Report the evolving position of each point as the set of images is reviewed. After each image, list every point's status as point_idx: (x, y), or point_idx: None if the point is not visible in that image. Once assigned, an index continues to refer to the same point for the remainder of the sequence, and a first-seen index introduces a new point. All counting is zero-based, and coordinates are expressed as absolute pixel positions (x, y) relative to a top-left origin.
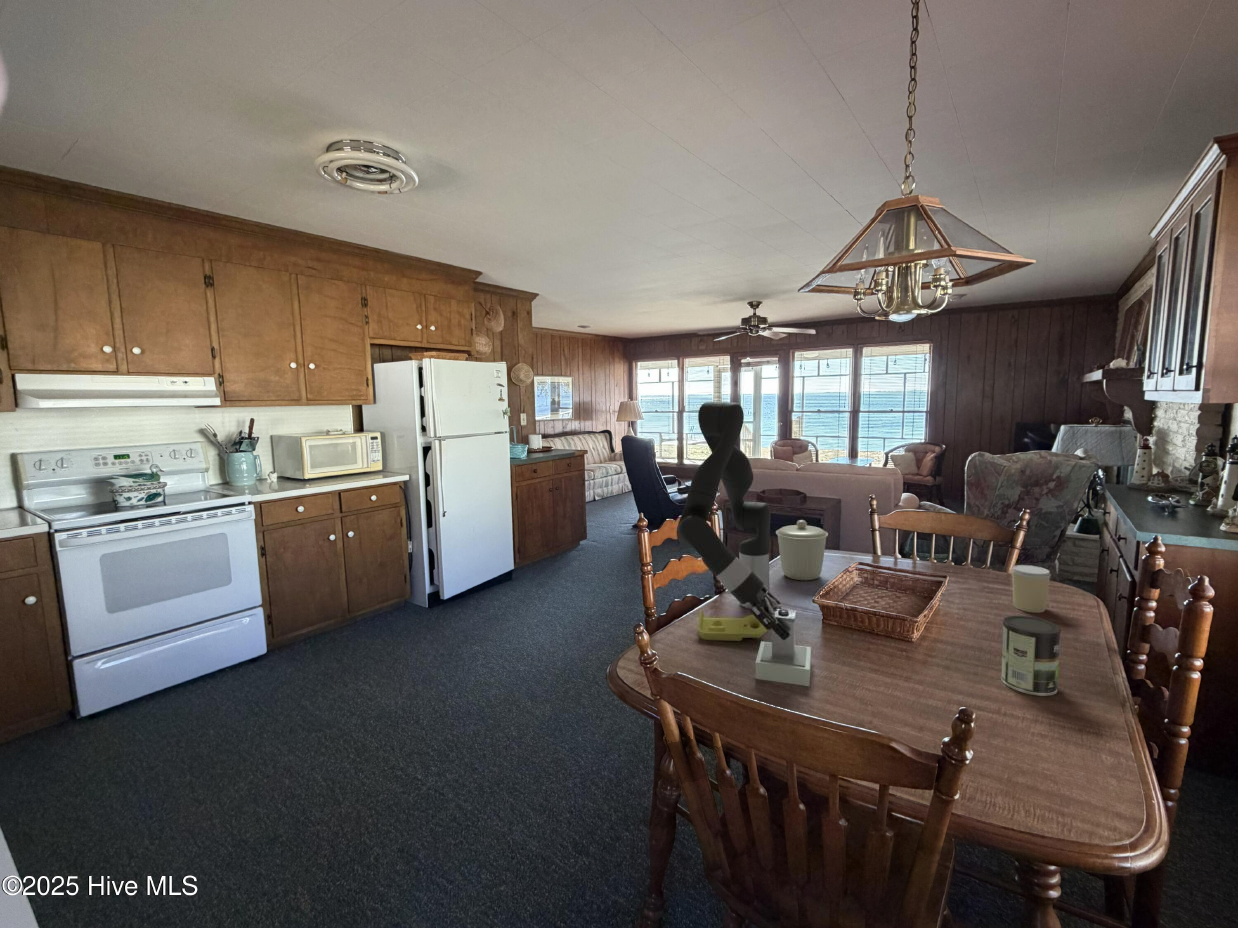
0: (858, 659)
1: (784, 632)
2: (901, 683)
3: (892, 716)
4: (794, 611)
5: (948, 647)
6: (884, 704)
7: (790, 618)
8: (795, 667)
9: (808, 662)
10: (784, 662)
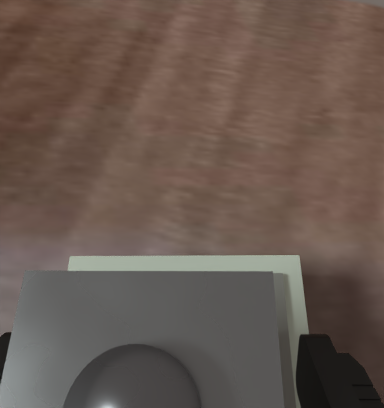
0: (46, 132)
1: (364, 379)
2: (175, 48)
3: (359, 73)
4: (52, 284)
5: None
6: (305, 84)
7: (272, 316)
8: (303, 317)
9: (231, 261)
10: (285, 375)
